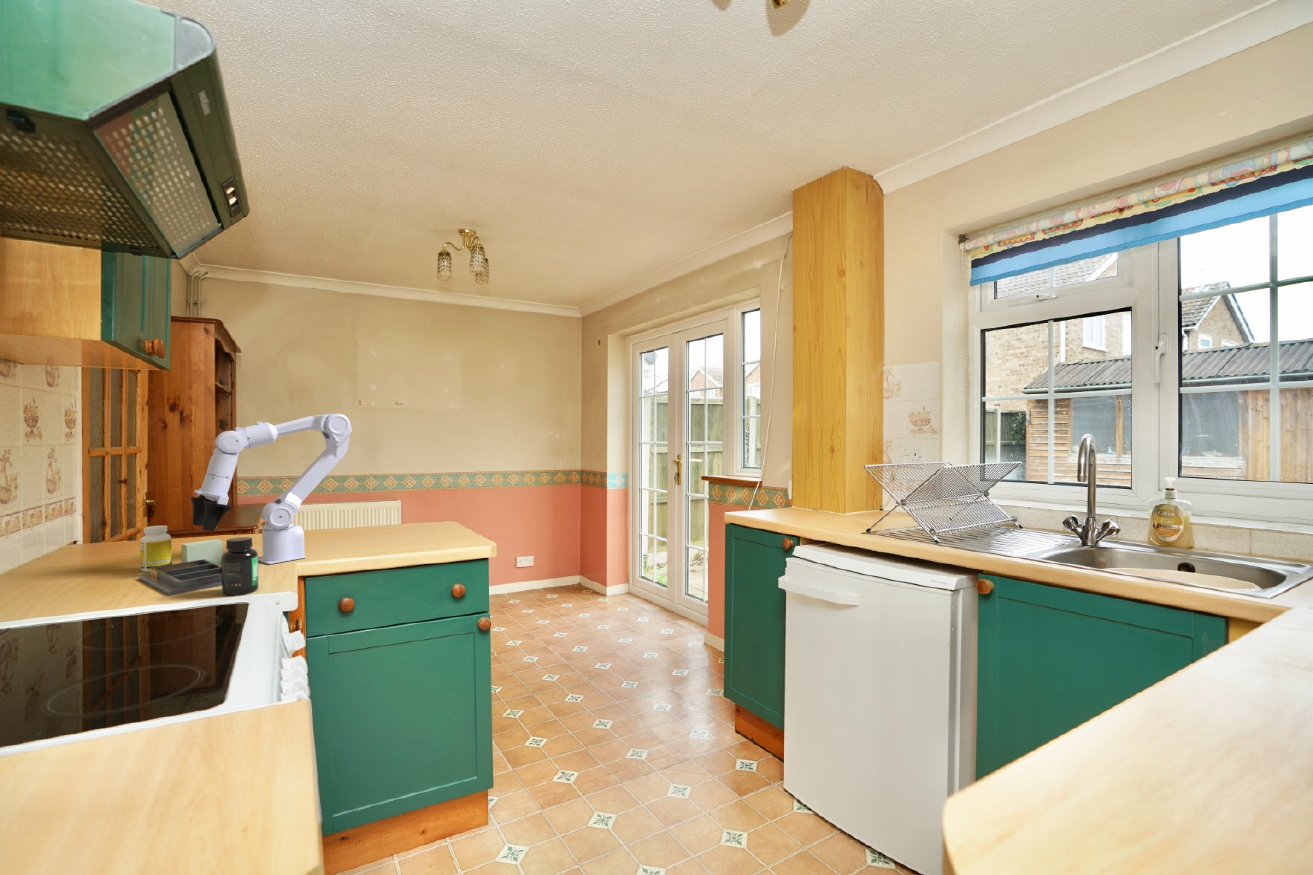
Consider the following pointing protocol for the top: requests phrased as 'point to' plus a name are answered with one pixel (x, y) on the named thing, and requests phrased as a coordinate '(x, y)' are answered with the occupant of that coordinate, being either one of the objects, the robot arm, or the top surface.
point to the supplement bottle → (239, 567)
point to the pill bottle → (155, 548)
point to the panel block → (203, 551)
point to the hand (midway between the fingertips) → (202, 528)
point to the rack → (184, 576)
